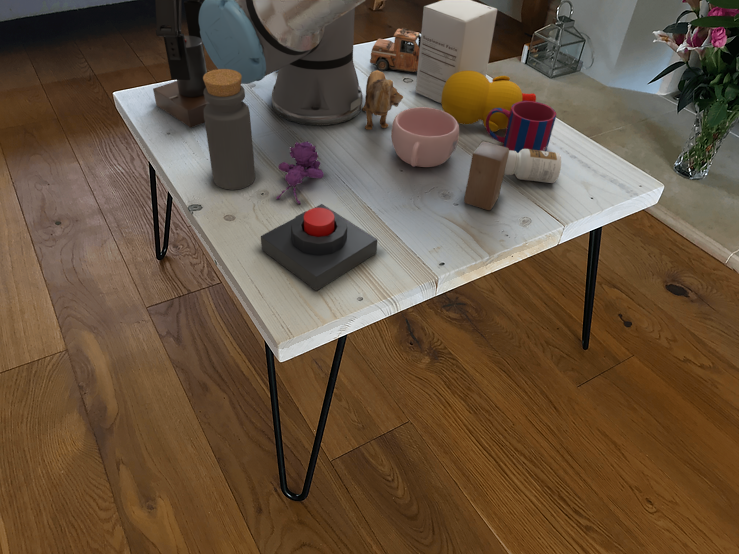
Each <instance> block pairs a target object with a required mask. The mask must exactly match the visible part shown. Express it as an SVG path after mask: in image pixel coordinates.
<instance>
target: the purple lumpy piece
mask: <svg viewBox="0 0 739 554" xmlns="http://www.w3.org/2000/svg"><path fill="white" fill-rule="evenodd" d="M293 145H294V146H291V147H289V148H288V149H289V150H290V151H289V156H290V158H291V159H294V160H295V164H294V163H290V164H289V163H288V162H285V161H283V162H280V163H279V164H278V166H277V168H278V170H279V171H281V172H282V173H287V174H285V176H284V180H285V182H286V183H287V185H288V186H287V187H286V188H285V189H284V190H282V191H281V193H280V194H279V195H277V196H276V197H275V198H276V200H280V199H281V197H282V196H283V194H284V193H286V192H287V190H290V188H291V187H293V189H292V190H293V195H294V197H295V201H296V203H297V204H298V205H301V201H300V200H299V198H298V196H297V193H296V190H297V189H296V186H297V185H298V184H303V179H305V178H313V179H322V178H324V175H325V173H324V171H323V170H322V169H320V166H321V165H322V163H321V161H319V160H318V159H319V155H318V151H317V148H316V145H313V143H311V142H310V141H309V140H307V141H303V142H297V141H296V142H295V143H294V144H293Z"/></svg>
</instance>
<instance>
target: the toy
mask: <svg viewBox="0 0 739 554" xmlns="http://www.w3.org/2000/svg"><path fill="white" fill-rule="evenodd" d="M510 80H511V77H510V76H507V75H498V76H495V77H493V78H492V81H489V79H488V77H487V76H486V77H485V76H484V75H482V74H481V73H479V72H476V71H470V70H466V71H460V72H457V73H455V74H453V75H452V76H450V77H449V79H448V80H447V81H446V83H445V85H444V88H443V91H442V99H441V102H442V104H441V108H442V111H444V112H446V113H448V114H450V115H451V116H453V117H454V118H455V119H456V121H457V123H458V125H473V124H475V123H478V122H479V121H481V122H482V125H483V127H484V128H485V129H486V118H487V115H488V114H489V112H490V111H491V110H492V109H494V108H503V109H506V110H508V111H511V107H512V105H513V104H515V103H517V102H521V101H535V102H537V95H536V94H535V93H524V92H522V91H523V90H522V89H521V87H520V86H519V85H518V84H517V83H516V82H513V81H510ZM507 124H508V117H507V116H506V115H505V114H503V113H500V112H496V113H494V114H492V115H491V117H490V119H489V128H490V130H491V131H492V132H493V133H496V132H498V131H499V130H506V129H507Z"/></svg>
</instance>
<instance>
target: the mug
mask: <svg viewBox="0 0 739 554" xmlns="http://www.w3.org/2000/svg"><path fill="white" fill-rule="evenodd" d="M390 137H391V143H392V146H393V149H394V151H395V154H396V155H397V156H398V158H399V159H401V160H402V161H403V162H404V163H406V164H408V165H410V166H411V167H412V168H414V167H418V168H419V167H420V168H434V167H438V166H440V165H442V164H444V163H446V162H447V161H448V160H449V159H450V157H452V155H453V153H454V152H455V150H456V148H457V146H458V143H459V139H460V124H459V123H457V121H456V119H455V118H454V117H453V116H451V115H450V114H448V113H446V112H444V111H443V110H441V109H438V108H434V107H426V106H424V107H423V106H417V107H411V108H406V109H404V110H402V111H400V112H399V113H397V114H396V115H395V117H394V119H393V121H392V125H391V132H390Z"/></svg>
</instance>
